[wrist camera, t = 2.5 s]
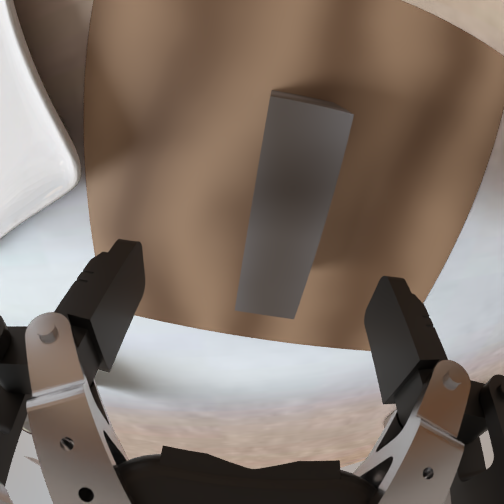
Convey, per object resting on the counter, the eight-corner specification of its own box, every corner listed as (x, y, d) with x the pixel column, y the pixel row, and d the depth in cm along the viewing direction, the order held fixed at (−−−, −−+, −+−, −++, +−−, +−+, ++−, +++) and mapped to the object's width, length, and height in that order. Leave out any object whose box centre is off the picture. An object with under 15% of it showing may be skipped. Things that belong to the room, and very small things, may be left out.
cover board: (504, 61, 10) (558, 71, 6) (389, 344, 23) (401, 392, 19) (105, -23, 10) (55, -40, 6) (109, 301, 23) (84, 345, 19)
